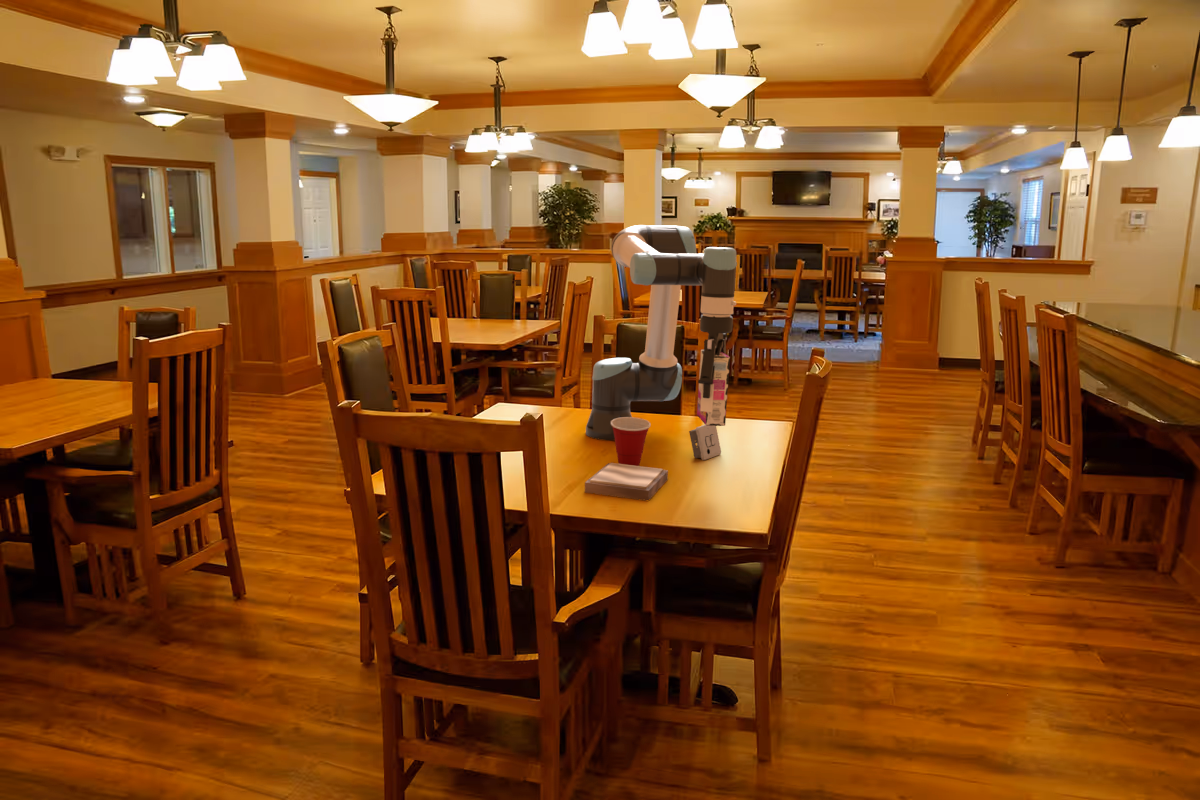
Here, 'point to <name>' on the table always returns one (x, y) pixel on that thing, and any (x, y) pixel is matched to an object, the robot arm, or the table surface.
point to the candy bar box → (716, 392)
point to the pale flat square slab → (627, 481)
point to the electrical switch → (705, 442)
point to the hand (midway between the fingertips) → (711, 406)
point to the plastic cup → (630, 439)
